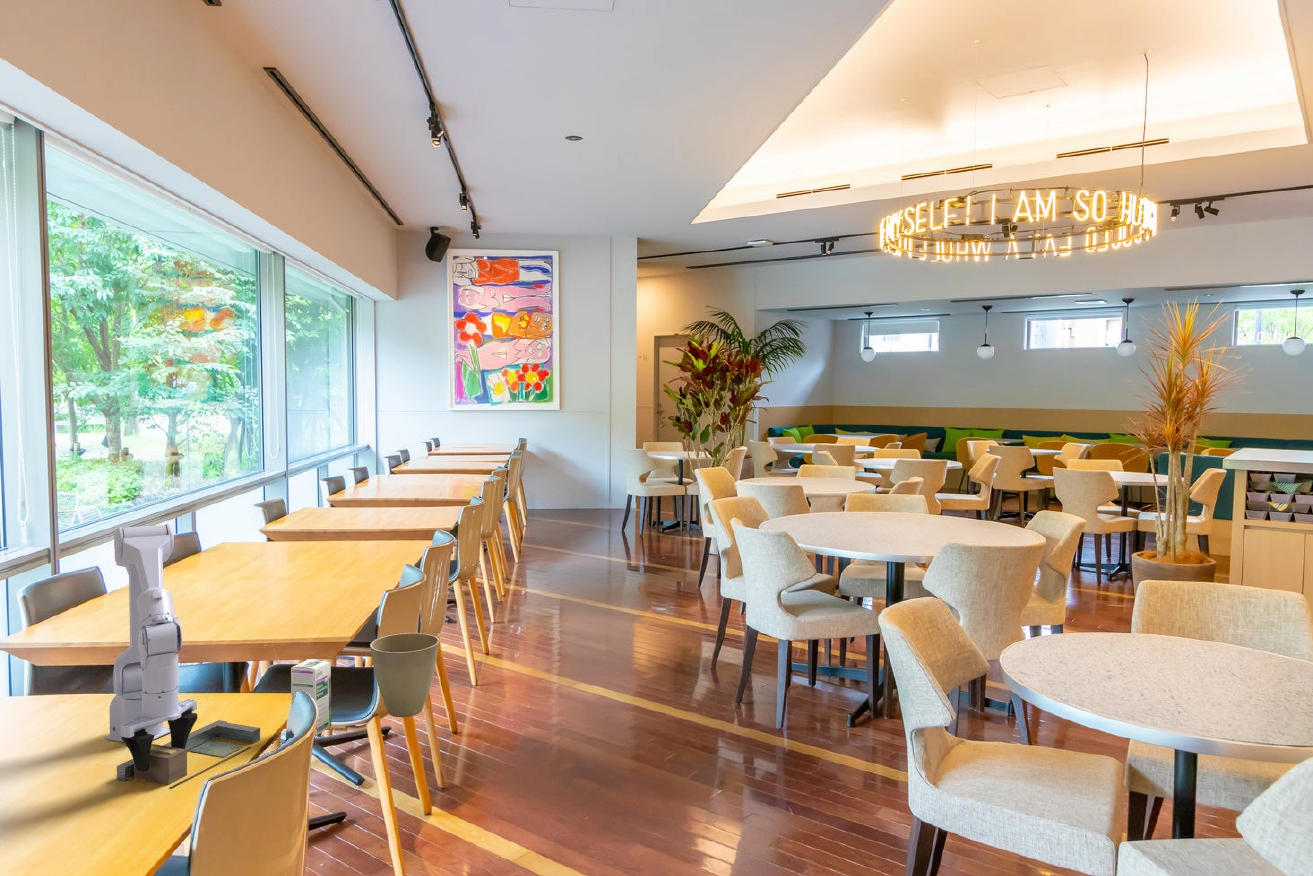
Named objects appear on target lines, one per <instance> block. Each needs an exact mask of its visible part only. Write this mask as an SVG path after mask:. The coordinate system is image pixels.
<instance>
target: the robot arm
mask: <svg viewBox="0 0 1313 876" xmlns="http://www.w3.org/2000/svg"><path fill="white" fill-rule="evenodd" d="M174 533H175V532H174V529H173V526H171V524H170V523H165V524H158V525H144V526H143V525H142V526H141V525H140V526H129V527H127V526H125V527H122V526H119V527H117V528H116V529H115V530H114V534H113V535H114V537H113V544H114V545H113V549H114V561H115V565H116V566H119V567H121V568H125V569H126V572H127V575H128V592H129V594H128V597H129V598H128V600H129V602H128V605H129V646H128V647H127V648H126V649H123V651H122V652H120V653H118V655H117V656H116V657H115V659H114V660H113V661H114V662H113V663H114V665H113V673H112V675H113V676H112V678H113V679H112V681H113V691H114V694H115V696H114V697H113V698H112V699H111V701H110V705H109V734H108V735H106V736H105V739H106V740H111V741H117V742H122V743H124V744H125V746H127V748H128V750H129V752H130V754H131V756H132V759H133V760H134V763H135V766H136V769H137V770H138V771H144V772H145V771H148V769H149V764H150V750H151V745H152V744H153V741H154V740H156V739H158V738H161V737H163V736H165V735H167V734H170V742H171V747H174V748H180V749H185V747H186V743H187V740H188V736H189V734H190V733H191V732H192V729H193V727H194V725H195V723H196V722H197V720H198V713H196V712H194V711H197V710H198V700H197V699H192V698H188V699H187V698H186V699H184V700H182V701H179V653H180V652H181V651H182V646H183V631H182V627H181V623H180V621H179V619H178V616H176V614H175V608H174V602H173V596H172V595H173V594H172V593H171V592H170V591H169V590H167V589H165V588H164V566H163V565H164V564H163V563H164V562H167V561H168V559H170V556H171V554H172V553H173V551H174V545H175V535H174ZM177 651H178V652H177ZM165 722H167V724H168V726H166V727H165V726H164V723H165Z"/></svg>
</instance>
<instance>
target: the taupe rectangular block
mask: <svg viewBox="0 0 1313 876" xmlns="http://www.w3.org/2000/svg"><path fill="white" fill-rule="evenodd" d="M187 776H188V752H187V750H186V749H180V748H174V747H168V746H162V744H155V743H152V745H151V750H150V764H149V769H148V771H145V772H144V771H138V770H137V769H136V766H135V763H134V777H133V779H135V780H140V781H144V782H145V781H147V782H152V783H156V784H162V785H167V786H170V785H171V784H174V783H175V782H177V781H179V780H182V779H183V778H184V777H187Z"/></svg>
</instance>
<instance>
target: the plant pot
mask: <svg viewBox="0 0 1313 876" xmlns="http://www.w3.org/2000/svg"><path fill="white" fill-rule="evenodd" d="M439 646H440V639H439V637H437V636H436V635H433V634H428V633H423V632H422V633H421V632H404V633H403V632H402V633H396V634H389V635H386V636H382V637H378V638H376V639H374V640H373V641H372V642H371V643H370V644H369V647H370V653H371V654H370V656H371V660H372V666H373V671H374V674H375V679H376V682H377V686H378V690H379V693H380V695H381V698H382V701H383V703H384V704H383V705H384V707H385V710H386V711H387V714H388V715H390V716H391V717H393V718H408V717H413V716H416V715H418V714H420V713H422V711H423V709H424V706H425V704H426V701H427V698H428V695H429V692H430V689H431V686H432V685H431V684H432V682H433V678H434V677H433V676H434V673H435V670H436V669H435V668H436V666H437V665H436V664H437V659H438V653H439V652H438V651H439Z"/></svg>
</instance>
